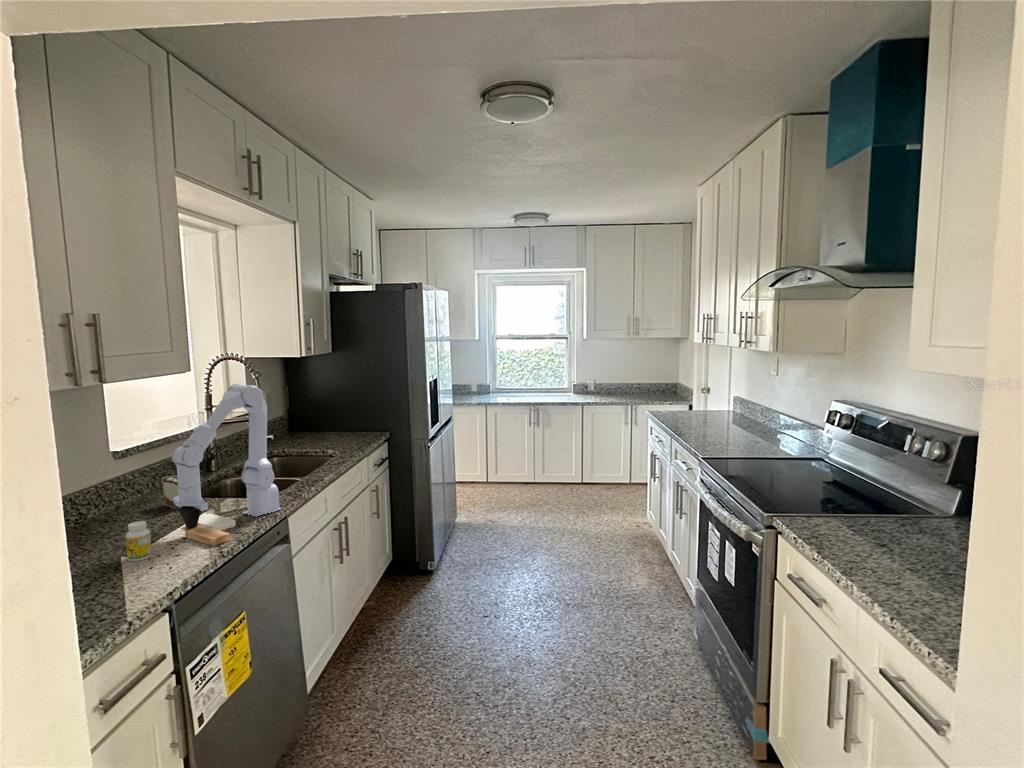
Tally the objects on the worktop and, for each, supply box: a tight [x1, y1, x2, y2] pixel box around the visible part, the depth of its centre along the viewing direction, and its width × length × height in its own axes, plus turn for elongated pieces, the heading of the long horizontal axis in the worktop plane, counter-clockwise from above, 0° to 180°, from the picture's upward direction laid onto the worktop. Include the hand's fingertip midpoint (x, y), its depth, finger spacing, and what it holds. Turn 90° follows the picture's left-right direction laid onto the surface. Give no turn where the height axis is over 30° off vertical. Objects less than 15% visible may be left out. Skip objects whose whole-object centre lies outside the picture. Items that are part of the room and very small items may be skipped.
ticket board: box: [197, 513, 237, 531], centre depth 166 cm, size 8×14×2 cm, turn 61°
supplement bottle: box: [125, 520, 153, 562], centre depth 142 cm, size 5×5×10 cm
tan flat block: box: [184, 525, 231, 547], centre depth 156 cm, size 5×14×2 cm, turn 61°
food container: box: [161, 475, 182, 510], centre depth 187 cm, size 12×6×10 cm, turn 59°
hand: (192, 529), depth 159 cm, fingers closed
